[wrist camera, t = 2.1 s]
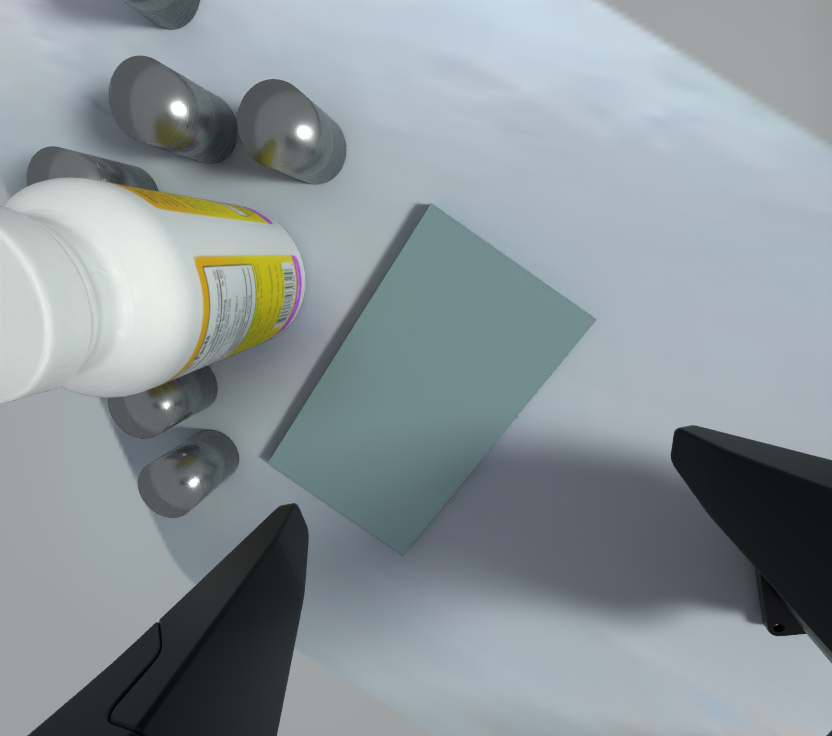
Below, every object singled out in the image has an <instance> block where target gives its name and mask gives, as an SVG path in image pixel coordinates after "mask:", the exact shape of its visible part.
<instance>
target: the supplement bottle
mask: <svg viewBox="0 0 832 736" xmlns="http://www.w3.org/2000/svg"><path fill="white" fill-rule="evenodd" d="M304 292H305V271H304V266H303V262H302V259H301V256H300V253H299V251H298V249H297V247H296V245H295V243H294V242H293V240H292V239H291V237H290V236H289V235H288V233H287V232H286V231H285V230H284V229H283V228H282V227H281V226H280V225H279V224H278V223H277V222H275V221H274V220H273V219H271V218H270V217H268V216H267V215H265V214H263V213H261V212H259V211H256V210H253V209H250V208H246V207H241V206H237V205H232V204H226V203H220V202H215V201H209V200H203V199H198V198H192V197H186V196H181V195H174V194H169V193H163V192H158V191H152V190H147V189H141V188H136V187H130V186H124V185H119V184H114V183H109V182H104V181H98V180H92V179H85V178H56V179H50V180H45V181H42V182H38V183H35V184H32V185H30V186H28V187H26V188H23V189H22V190H20V191H19V192H17V193H16V194H14V195H13V196H12V197H11V198H10V199H8V201H7V202H6V203H5V204H4V205H3V206H0V403H4V402H9V401H14V400H17V399H20V398H23V397H27V396H30V395H34V394H38V393H42V392H47V391H50V390H53V389H56V388H58V387H62V388H65V389H67V390H70V391H73V392H76V393H80V394H83V395H88V396H95V397H123V396H129V395H133V394H137V393H141V392H143V391H146V390H149V389H152V388H155V387H157V386H160V385H162V384H164V383H167V382H169V381H171V380H173V379H176V378H178V377H181V376H183V375H186V374H188V373H190V372H193V371H195V370H197V369H200V368H202V367H205V366H207V365H210V364H212V363H214V362H217V361H219V360H222V359H225V358H227V357H229V356H231V355H234V354H236V353H238V352H241V351H244V350H246V349H248V348H251V347H253V346H255V345H258V344H260V343H263V342H265V341H267V340H269V339H271V338H273V337H275V336H277V335H278V334H280V333H281V332H282V331H284V330H285V329H286V328H287V327H288V326H289V325H290V324H291V323H292V321H293V320H294V319H295V317H296V315H297V314H298V312H299V310H300V307H301V305H302V302H303V298H304Z"/></svg>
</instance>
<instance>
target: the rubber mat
mask: <svg viewBox="0 0 832 736" xmlns="http://www.w3.org/2000/svg"><path fill="white" fill-rule="evenodd" d="M595 321H596V319H595V318H594V317H592V316H591V315H589V314H588V313H587V312H585V311H584V310H582V309H581V308H579V307H578V306H577V305H575V304H574V303H572V302H571V301H569V300H568V299H567V298H565V297H564V296H562V295H561V294H560V293H558V292H557V291H555V290H554V289H552V288H551V287H550V286H548V285H547V284H545V283H544V282H542V281H541V280H540V279H538V278H537V277H535V276H534V275H533V274H531V273H530V272H528V271H527V270H525V269H524V268H523V267H521V266H520V265H518V264H517V263H515V262H514V261H513V260H511V259H510V258H508V257H507V256H506V255H504V254H503V253H501V252H500V251H498V250H497V249H496V248H494V247H493V246H491V245H490V244H488V243H487V242H486V241H484V240H483V239H481V238H480V237H479V236H477V235H476V234H474V233H473V232H471V231H470V230H469V229H467V228H466V227H464V226H463V225H461V224H460V223H459V222H457V221H456V220H454V219H453V218H452V217H450V216H449V215H447V214H446V213H444V212H443V211H442V210H440V209H439V208H437V207H436V206H434V205H433V204H432V203H431V204H430V206H429V207H428V209H427V211H426V212H425V214H424V215H423V217H422V219H421V220H420V222H419V223H418V225H417V227H416V228H415V230H414V231H413V233H412V234H411V236H410V238H409V239H408V241H407V242H406V244H405V246H404V247H403V249H402V250H401V252H400V254H399V255H398V257H397V258H396V260H395V262H394V263H393V265H392V266H391V268H390V269H389V271H388V273H387V274H386V276H385V277H384V279H383V281H382V282H381V284H380V285H379V287H378V289H377V290H376V292H375V293H374V295H373V297H372V298H371V300H370V301H369V303H368V304H367V306H366V308H365V309H364V311H363V312H362V314H361V316H360V317H359V319H358V320H357V322H356V324H355V325H354V327H353V328H352V330H351V332H350V333H349V335H348V336H347V338H346V339H345V341H344V343H343V344H342V346H341V347H340V349H339V351H338V352H337V354H336V355H335V357H334V359H333V360H332V362H331V363H330V365H329V367H328V368H327V370H326V371H325V373H324V374H323V376H322V378H321V379H320V381H319V382H318V384H317V386H316V387H315V389H314V390H313V392H312V394H311V395H310V397H309V398H308V400H307V402H306V403H305V405H304V406H303V408H302V409H301V411H300V413H299V414H298V416H297V417H296V419H295V421H294V422H293V424H292V425H291V427H290V429H289V430H288V432H287V433H286V435H285V437H284V438H283V440H282V441H281V443H280V444H279V446H278V448H277V449H276V451H275V452H274V454H273V456H272V457H271V459H270V460H269V462H268V464H269V465H271V466H272V467H274V468H275V469H277V470H278V471H279V472H281V473H282V474H284V475H285V476H287V477H288V478H290V479H291V480H293V481H294V482H295V483H297V484H298V485H300V486H301V487H303V488H304V489H306V490H307V491H309V492H310V493H311V494H313V495H314V496H316V497H317V498H319V499H320V500H322V501H323V502H325V503H326V504H328V505H329V506H330V507H332V508H333V509H335V510H336V511H338V512H339V513H341V514H342V515H344V516H345V517H346V518H348V519H349V520H351V521H352V522H354V523H355V524H357V525H358V526H360V527H361V528H362V529H364V530H365V531H367V532H368V533H370V534H371V535H373V536H374V537H376V538H377V539H379V540H380V541H381V542H383V543H384V544H386V545H387V546H389V547H390V548H392V549H393V550H395V551H396V552H397V553H399V554H400V555H402V556H403V555H404V553H405V552H406V551H407V550H408V549H409V547H410V546H411V545H412V544H413V542H414V541H415V540H416V539H417V538H418V536H419V535H420V534H421V533H422V532H423V530H424V529H425V528H426V527H427V525H428V524H429V523H430V522H431V521H432V519H433V518H434V517H435V516H436V514H437V513H438V512H439V511H440V510H441V508H442V507H443V506H444V505H445V504H446V502H447V501H448V500H449V499H450V497H451V496H452V495H453V494H454V493H455V491H456V490H457V489H458V488H459V486H460V485H461V484H462V483H463V482H464V480H465V479H466V478H467V477H468V476H469V474H470V473H471V472H472V471H473V469H474V468H475V467H476V466H477V465H478V463H479V462H480V461H481V460H482V459H483V457H484V456H485V455H486V454H487V452H488V451H489V450H490V449H491V448H492V446H493V445H494V444H495V443H496V441H497V440H498V439H499V438H500V437H501V435H502V434H503V433H504V432H505V431H506V429H507V428H508V427H509V426H510V424H511V423H512V422H513V421H514V420H515V418H516V417H517V416H518V415H519V413H520V412H521V411H522V410H523V409H524V407H525V406H526V405H527V404H528V403H529V401H530V400H531V399H532V398H533V396H534V395H535V394H536V393H537V392H538V390H539V389H540V388H541V387H542V385H543V384H544V383H545V382H546V381H547V379H548V378H549V377H550V376H551V375H552V373H553V372H554V371H555V370H556V368H557V367H558V366H559V365H560V364H561V362H562V361H563V360H564V359H565V358H566V356H567V355H568V354H569V353H570V351H571V350H572V349H573V348H574V347H575V345H576V344H577V343H578V342H579V340H580V339H581V338H582V337H583V336H584V334H585V333H586V332H587V331H588V330H589V328H590V327H591V326H592V325H593V323H594V322H595Z"/></svg>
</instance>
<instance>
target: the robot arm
mask: <svg viewBox="0 0 832 736" xmlns="http://www.w3.org/2000/svg"><path fill="white" fill-rule="evenodd" d="M671 460H672V463H673V465H674V467H675V468H676V470H677V471H678V473H679V474H680V475H681V477H682V478H683V480H684V481H685V482H686V484H687V485H688V487H689V488H690V489H691V491H692V492H693V494H694V495H695V496H696V498H697V499H698V501H699V502H700V503H701V505H702V506H703V508H704V509H705V510H706V512H707V513H708V514H709V515H710V517H711V518H712V519H713V520H714V521H715V522H716V524H717V525H718V526H719V527H720V528H721V529H722V530H723V532H724V533H725V534H726V535H727V536H728V537H729V538H730V539H731V541H732V542H733V543H734V544H735V545H736V546H737V547H738V548H739V550H740V551H741V552H742V553H743V554H744V555H745V556H746V557H747V559H748V560H749V561H750V562H751V563H752V564H753V565H754V566H755V570H756V577H757V584H758V591H759V598H760V605H761V612H762V619H763V624H764V626H765V627H766V629H767V630H768V631H769V632H770V633H771V634H772V635H775V636H787V635H798V634H807V635H808V636H809V637H810V638H811V639H812V640H813V642H814V643H815V644H816V645H817V646H818V648H819V649H820V650H821V651H822V652H823V654H824V655H825V656H826V657H827V658H828V659H829V661H830V662H831V663H832V460H829V459H825V458H821V457H817V456H813V455H809V454H805V453H802V452H798V451H794V450H790V449H786V448H782V447H778V446H774V445H770V444H766V443H762V442H758V441H754V440H750V439H746V438H743V437H739V436H735V435H731V434H727V433H723V432H719V431H715V430H711V429H707V428H703V427H699V426H694V425H691V426H685V427H680V428H677V429H676V430H675V432H674V436H673V443H672V450H671ZM308 540H309V534H308V528H307V525H306V523H305V520H304V518H303V516H302V513H301V511H300V509H299V507H298V505H297V504H295V503H292V504H287V505H282V506H279V507H278V508H277V509H276V510H275V511H274V512H273V513H271V514H270V515H269V516H268V517H267V518H266V519H265V520H264V521H263V522H262V523H261V524H260V525H259V526H258V527H257V528H256V529H255V530H254V531H253V532H252V533H250V534H249V535H248V536H247V537H246V538H245V539H244V540H243V541H242V542H241V543H240V544H239V545H238V546H237V547H236V548H235V549H234V550H233V551H232V552H230V553H229V554H228V555H227V556H226V557H225V558H224V559H223V560H222V561H221V562H220V563H219V564H218V565H217V566H216V567H215V568H214V569H213V570H212V571H210V572H209V573H208V574H207V575H206V576H205V577H204V578H203V579H202V580H201V581H200V582H199V583H198V584H197V585H196V586H195V587H194V588H193V589H192V590H191V591H189V592H188V593H187V594H186V595H185V596H184V597H183V598H182V599H181V600H180V601H179V602H178V603H177V604H176V605H175V606H174V607H173V608H171V609H170V610H169V611H168V612H167V613H166V614H165V615H164V616H163V617H162V618H161V619H160V621H159V623H158V622H157V623H155V624H154V625H153V626H152V627H151V628H150V629H149V630H148V631H146V632H145V633H144V634H143V635H142V636H141V637H140V638H139V639H138V640H137V641H136V642H135V643H134V644H133V645H131V646H130V647H129V648H128V649H127V650H126V651H125V652H124V653H123V654H122V655H121V656H119V657H118V658H117V659H116V660H115V661H114V662H113V663H112V664H111V665H109V667H107V668H106V669H105V670H104V671H103V672H101V673H100V674H99V675H98V676H97V677H96V678H95V679H93V680H92V681H91V682H90V683H89V684H88V685H87V686H86V687H84V688H83V689H82V690H81V691H79V692H78V693H77V694H76V695H75V696H74V697H73V698H71V699H70V700H69V701H68V702H67V703H65V704H64V705H63V706H62V707H61V708H59V709H58V710H57V711H56V712H55V713H54V714H52V716H50V717H49V718H48V719H47V720H45V721H44V722H43V723H42V724H41V725H39V726H38V727H37V728H36V729H35V730H34V731H32V732H31V733H30V734H29V735H28V736H277V732H278V727H279V722H280V717H281V712H282V707H283V702H284V697H285V691H286V686H287V681H288V676H289V671H290V665H291V661H292V656H293V650H294V646H295V640H296V635H297V630H298V625H299V620H300V615H301V610H302V605H303V599H304V592H305V581H306V567H307V554H308ZM776 624H778V625H776ZM775 625H776V626H775ZM827 736H832V731H831V732H830V733H829V734H828V735H827Z"/></svg>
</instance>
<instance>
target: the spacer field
mask: <svg viewBox="0 0 832 736" xmlns="http://www.w3.org/2000/svg"><path fill="white" fill-rule="evenodd" d="M123 1H124V2H125V3H127V4H128V5H130V6H131V7H133V8H134V9H135V10H137V11H138V12H140V13H141V14H143V15H144V16H146V17H147V18H148V19H150V20H151V21H153V22H154V23H156V24H157V25H159V26H160V27H163V28H166V29H178V28H181V27H183V26H185V25H186V24H187V23H189V22H190V21H191V19H192V18H193V17H194V15H195V14H196V11H197V9H198V6H199V2H200V0H123ZM109 101H110V107H111V111H112V113H113V116H114V118H115V120H116V122H117V123H118V125H119V126H120V128H121V129H122V130H123V131H124V132H125V133H126V134H127V135H128V136H129V137H131V138H133V139H134V140H137V141H139V142H142V143H145V144H148V145H151V146H154V147H157V148H160V149H164V150H167V151H170V152H173V153H176V154H179V155H182V156H185V157H188V158H191V159H194V160H197V161H200V162H204V163H217V162H219V161H221V160H223V159H225V158H226V157H227V156H228V155H229V154H230V152H231V151H232V149H233V147H234V145H235V142H236V137H237V125H238V133H239V137H240V140H241V142H242V144H243V146H244V148H245V150H246V151H247V153H248V154H249V155H250V156H251V157H252V158H253V159H254V160H255V161H257V162H258V163H260V164H261V165H264V166H266V167H269V168H271V169H274V170H276V171H279V172H281V173H284V174H286V175H289V176H291V177H294V178H296V179H299V180H301V181H304V182H306V183H309V184H323V183H326V182H328V181H330V180H331V179H333V178H334V177H335V176H336V175H337V174H338V173H339V172H340V170H341V169H342V166H343V164H344V161H345V157H346V142H345V138H344V135H343V132H342V131H341V129H340V127H339V126H338V125H337V123H336V122H335V121H334V120H332V119H331V118H330V117H329V116H328V115H327V114H326V113H324V112H323V111H322V110H321V109H320V108H319V107H318V106H316V105H315V104H314V103H313V102H312V101H311V100H310V99H308V98H307V97H306V96H305V95H304V94H303V93H302V92H300V91H299V90H298V89H297V88H296V87H295V86H293V85H291V84H290V83H288V82H285V81H282V80H277V79H270V80H265V81H262V82H259V83H258V84H256V85H254V86H253V87H252V88H251V89H250V90H249V91H248V92H247V93H246V95H245V96H244V98H243V100H242V102H241V104H240V107H239V111H238V117H237V125H236V120H235V117H234V115H233V112H232V111H231V109H230V107H229V106H228V105H227V104H226V103H225V102H224V101H223V100H222V99H221V98H219V97H218V96H216V95H214V94H213V93H211V92H209V91H207V90H206V89H204V88H202V87H201V86H199V85H197V84H196V83H194V82H192V81H190V80H189V79H187V78H185V77H184V76H182V75H180V74H179V73H177V72H175V71H173V70H172V69H170V68H168V67H167V66H165V65H163V64H162V63H160V62H158V61H156V60H155V59H153V58H150V57H147V56H134V57H130V58H128V59H126V60H125V61H123V62H122V63H121V64H120V65H119V66H118V67H117V68H116V70H115V72H114V74H113V76H112V78H111V82H110V87H109ZM56 178H85V179H92V180H98V181H104V182H109V183H114V184H119V185H124V186H130V187H136V188H141V189H147V190H152V191H158V188H157V186H156V184H155V182H154V180H153V179H152V178H151V176H150V175H149V174H148V173H146V172H145V171H144V170H142V169H141V168H138V167H136V166H132V165H128V164H124V163H120V162H116V161H112V160H108V159H104V158H100V157H96V156H92V155H88V154H84V153H80V152H76V151H72V150H68V149H64V148H60V147H54V146H53V147H46V148H43V149H41V150H40V151H38V152H37V153H36V154H35V155H34V156H33V158H32V159H31V161H30V164H29V167H28V173H27V182H28V186H30V185H32V184H35V183H38V182H42V181H45V180H50V179H56ZM158 192H159V191H158ZM216 395H217V382H216V379H215V376H214V374H213V373H212V371H211V370H210V369H209V367H208V366H205V367H202V368H200V369H197V370H195V371H193V372H190V373H188V374H186V375H183V376H181V377H178V378H176V379H173V380H171V381H169V382H167V383H164V384H162V385H160V386H157V387H155V388H152V389H149V390H146V391H143V392H141V393H137V394H133V395H129V396H123V397H108V405H109V410H110V413H111V416H112V418H113V419H114V421H115V422H116V424H117V425H118V426H119V427H120V428H121V429H122V430H123V431H124V432H126V433H127V434H129V435H131V436H133V437H136V438H142V439H146V438H152V437H154V436H156V435H158V434H160V433H162V432H163V431H165V430H167V429H169V428H171V427H172V426H174V425H176V424H178V423H180V422H182V421H183V420H185V419H187V418H189V417H191V416H192V415H194V414H196V413H198V412H200V411H202V410H203V409H205V408H207V407H209V406H210V405H211V404H212V403H213V402H214V400H215V398H216ZM238 464H239V454H238V451H237V448H236V446H235V444H234V443H233V442H232V440H231V439H230V438H229V437H227V436H226V435H224V434H223V433H221V432H218V431H214V430H206V431H202V432H200V433H198V434H197V435H195V436H194V437H192V438H190V439H189V440H187V441H186V442H184V443H182V444H181V445H179V446H178V447H176V448H174V449H173V450H171V451H170V452H168V453H166V454H165V455H163V456H162V457H160V458H158V459H157V460H155V461H154V462H152V463H150V464H149V465H147V466H146V467H145V468H144V469H143V470H142V471H141V473H140V475H139V478H138V489H139V492H140V495H141V497H142V499H143V501H144V502H145V503H146V505H147V506H148V507H149V508H150V509H151V510H153V511H154V512H156V513H157V514H159V515H162V516H164V517H169V518H177V517H181V516H183V515H185V514H186V513H188V512H189V511H190V510H191V509H192V508H194V507H195V506H196V505H197V504H198V503H199V502H201V501H202V500H203V499H204V498H205V497H206V496H207V495H209V494H210V493H211V492H212V491H213V490H214V489H216V488H217V487H218V486H219V485H220V484H221V483H222V482H224V481H225V480H226V479H227V478H228V477H229V476H231V475H232V474H233V473H234V472H235V470H236V469H237V467H238Z"/></svg>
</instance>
